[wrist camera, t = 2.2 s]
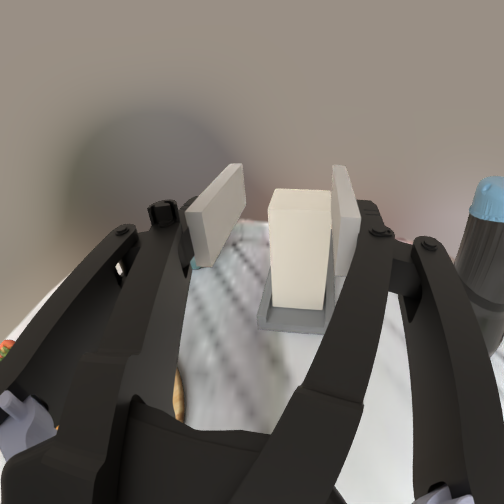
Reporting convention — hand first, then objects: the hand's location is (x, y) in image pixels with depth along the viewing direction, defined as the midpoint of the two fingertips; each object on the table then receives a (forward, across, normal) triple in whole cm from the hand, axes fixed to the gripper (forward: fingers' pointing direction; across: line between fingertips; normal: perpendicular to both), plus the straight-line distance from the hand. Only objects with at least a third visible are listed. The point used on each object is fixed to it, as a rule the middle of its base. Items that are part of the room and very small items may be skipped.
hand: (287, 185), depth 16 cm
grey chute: (+21, 0, -24) cm, 32 cm away
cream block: (+15, 0, -22) cm, 27 cm away
